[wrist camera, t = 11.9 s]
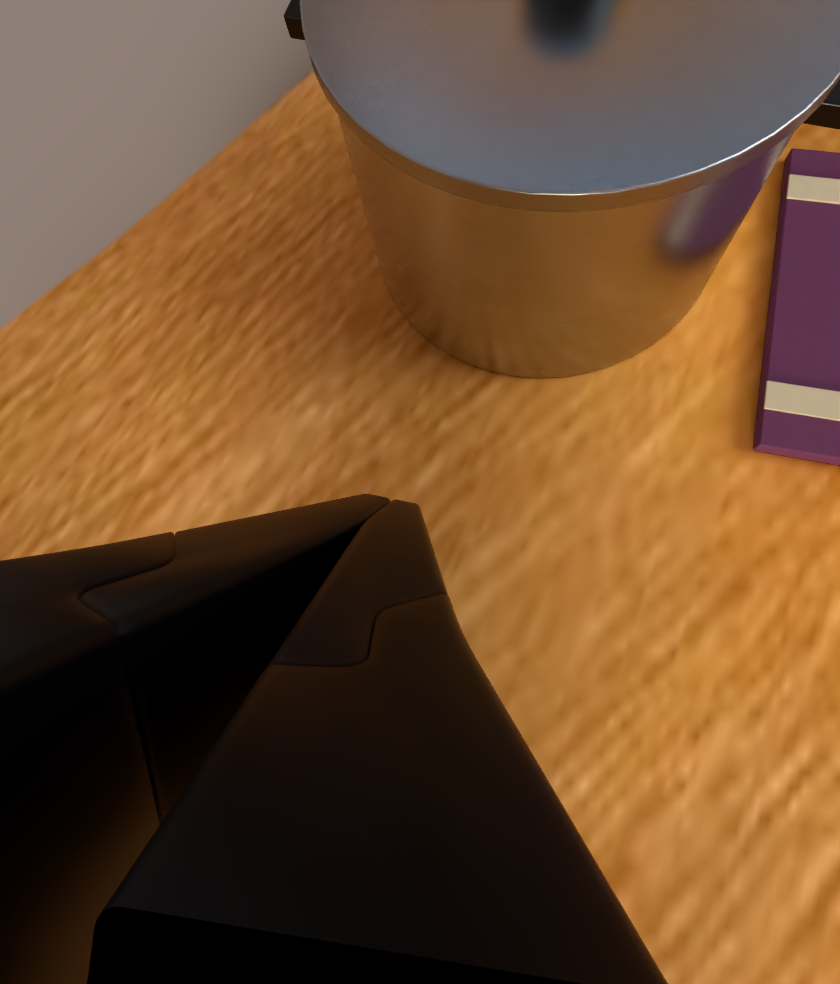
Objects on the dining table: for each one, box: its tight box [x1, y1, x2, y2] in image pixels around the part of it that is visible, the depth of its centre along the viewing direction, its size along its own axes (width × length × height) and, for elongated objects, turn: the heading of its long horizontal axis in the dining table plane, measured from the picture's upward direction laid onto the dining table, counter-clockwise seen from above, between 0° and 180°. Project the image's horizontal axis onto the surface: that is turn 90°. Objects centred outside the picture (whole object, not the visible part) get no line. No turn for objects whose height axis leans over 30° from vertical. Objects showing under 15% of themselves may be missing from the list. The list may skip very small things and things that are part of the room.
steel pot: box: [284, 0, 840, 378], centre depth 19 cm, size 14×16×11 cm
